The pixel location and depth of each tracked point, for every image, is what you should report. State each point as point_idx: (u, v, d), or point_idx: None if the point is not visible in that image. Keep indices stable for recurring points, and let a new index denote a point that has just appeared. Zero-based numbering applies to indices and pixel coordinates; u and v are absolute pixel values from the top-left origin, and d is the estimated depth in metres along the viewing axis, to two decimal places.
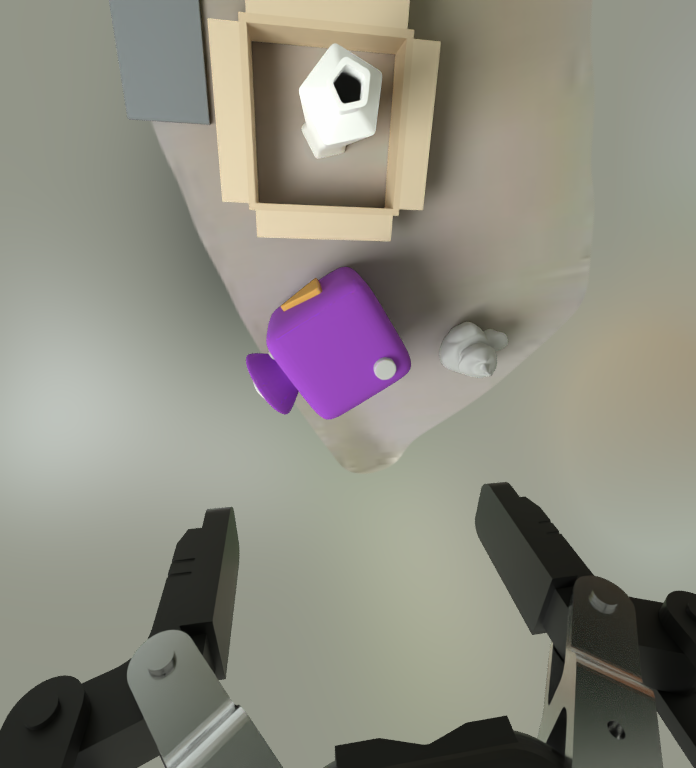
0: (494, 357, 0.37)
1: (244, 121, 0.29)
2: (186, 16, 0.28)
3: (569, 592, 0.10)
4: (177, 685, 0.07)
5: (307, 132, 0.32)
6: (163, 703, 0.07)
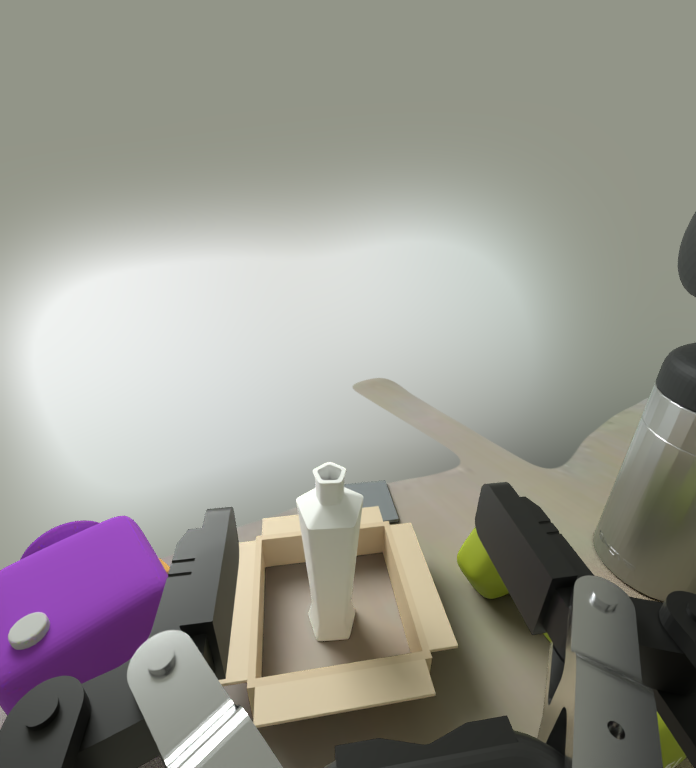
0: None
1: None
2: (382, 513, 0.42)
3: (569, 592, 0.10)
4: (176, 685, 0.07)
5: None
6: (163, 703, 0.07)
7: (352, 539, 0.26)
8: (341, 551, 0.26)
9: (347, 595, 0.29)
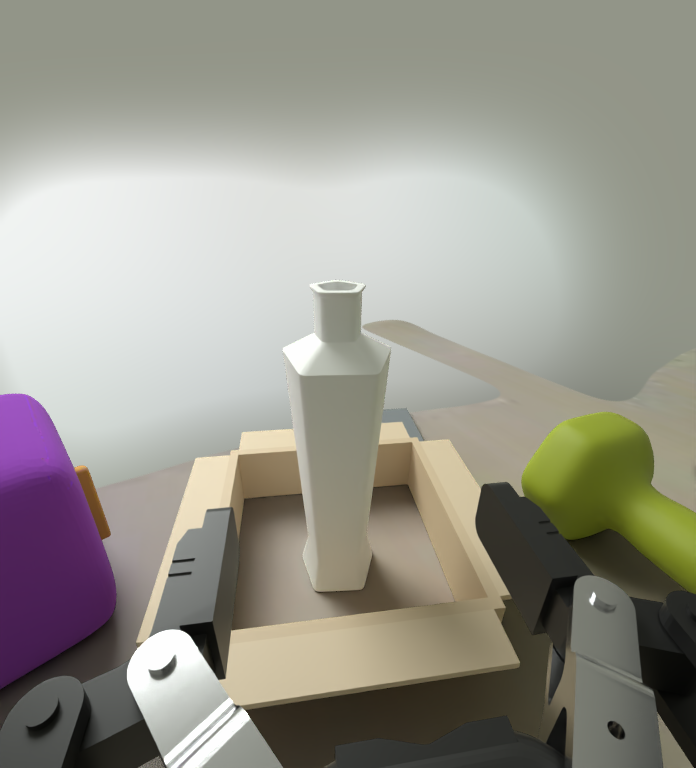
0: None
1: None
2: None
3: (569, 592, 0.10)
4: (177, 685, 0.07)
5: None
6: (163, 703, 0.07)
7: (375, 401, 0.15)
8: (355, 426, 0.16)
9: (363, 513, 0.18)
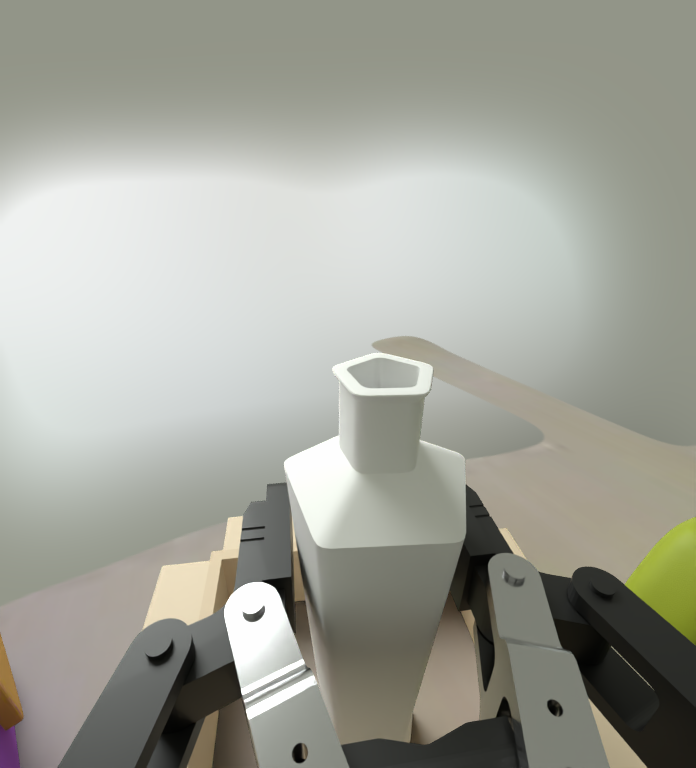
0: None
1: None
2: None
3: None
4: (261, 632, 0.08)
5: None
6: (262, 641, 0.08)
7: (450, 578, 0.08)
8: (413, 612, 0.09)
9: (412, 709, 0.12)
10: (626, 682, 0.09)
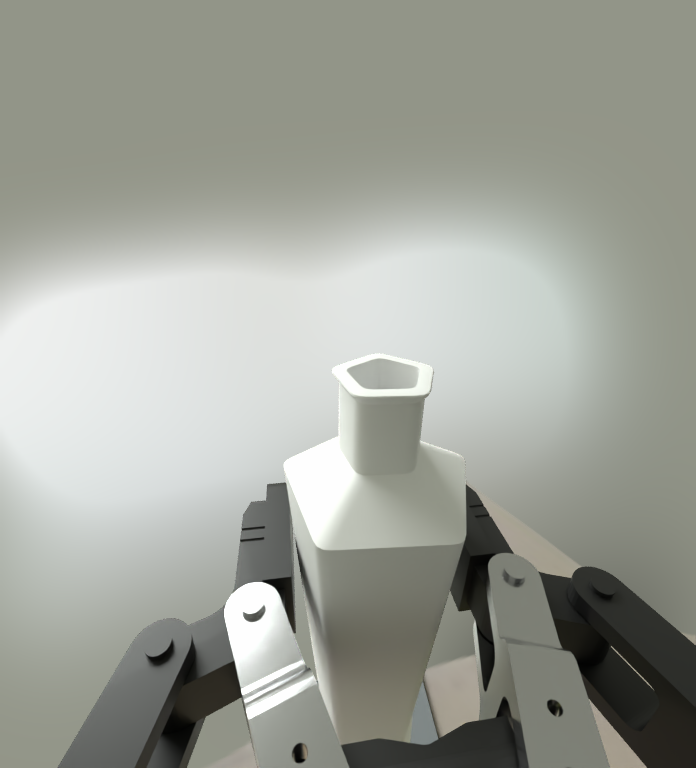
0: None
1: None
2: None
3: None
4: (261, 632, 0.08)
5: None
6: (262, 640, 0.08)
7: (451, 579, 0.08)
8: (413, 614, 0.09)
9: (412, 710, 0.11)
10: (626, 682, 0.09)
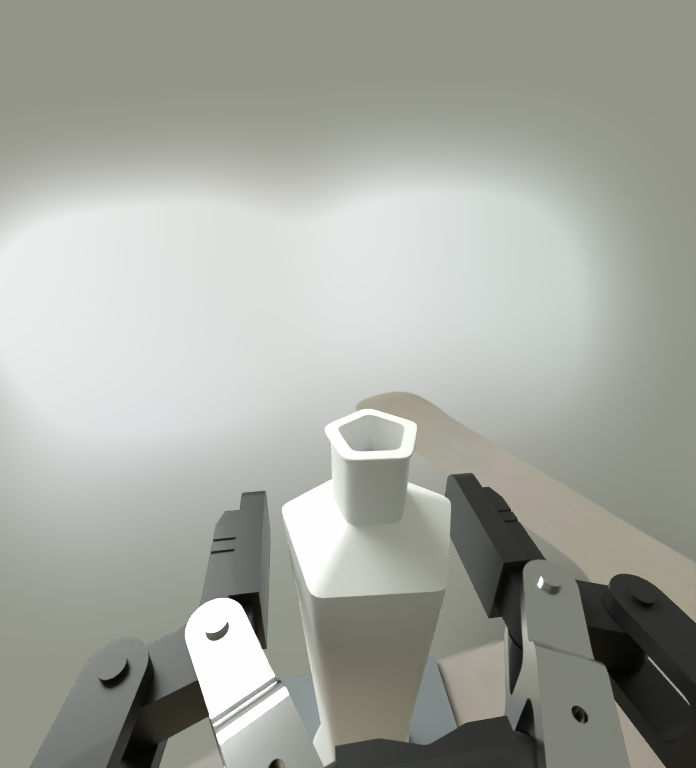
0: None
1: None
2: None
3: (520, 576, 0.10)
4: (227, 650, 0.08)
5: None
6: (222, 661, 0.08)
7: (435, 620, 0.09)
8: (401, 651, 0.10)
9: (405, 736, 0.12)
10: (662, 696, 0.09)
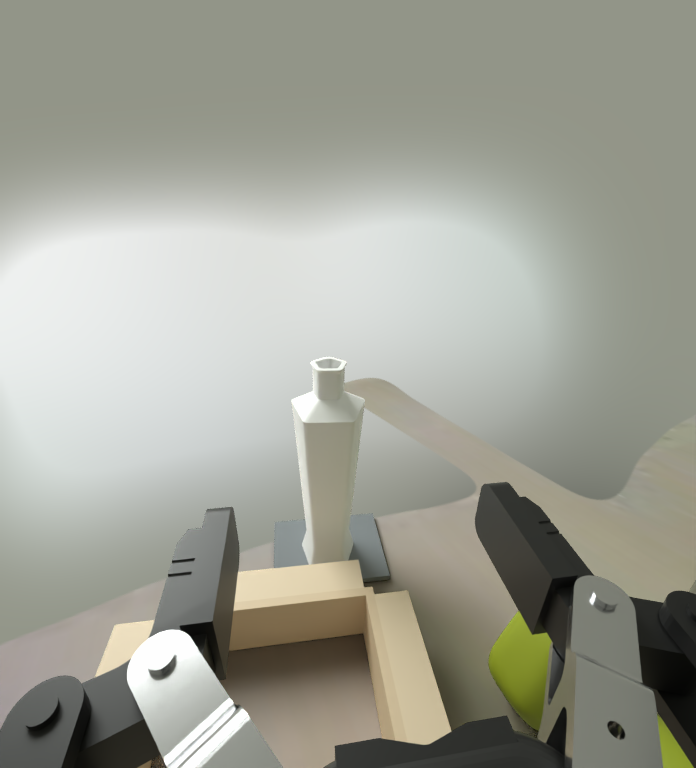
0: None
1: (266, 599, 0.23)
2: (365, 566, 0.28)
3: (569, 592, 0.10)
4: (176, 685, 0.07)
5: None
6: (163, 703, 0.07)
7: (352, 438, 0.23)
8: (339, 454, 0.24)
9: (345, 513, 0.26)
10: None
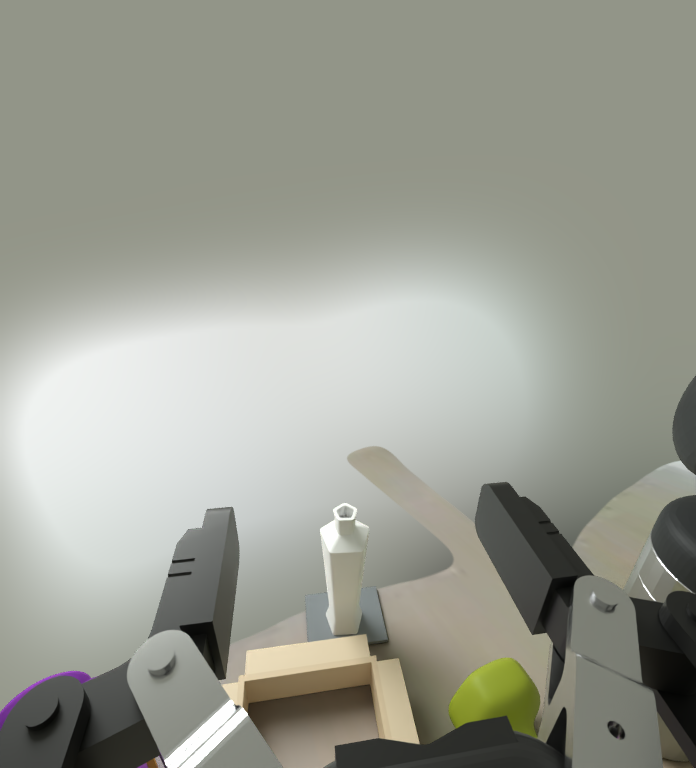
0: None
1: (307, 665, 0.35)
2: (370, 632, 0.41)
3: (569, 592, 0.10)
4: (176, 685, 0.07)
5: None
6: (163, 703, 0.07)
7: (361, 560, 0.36)
8: (352, 568, 0.36)
9: (356, 600, 0.39)
10: None
